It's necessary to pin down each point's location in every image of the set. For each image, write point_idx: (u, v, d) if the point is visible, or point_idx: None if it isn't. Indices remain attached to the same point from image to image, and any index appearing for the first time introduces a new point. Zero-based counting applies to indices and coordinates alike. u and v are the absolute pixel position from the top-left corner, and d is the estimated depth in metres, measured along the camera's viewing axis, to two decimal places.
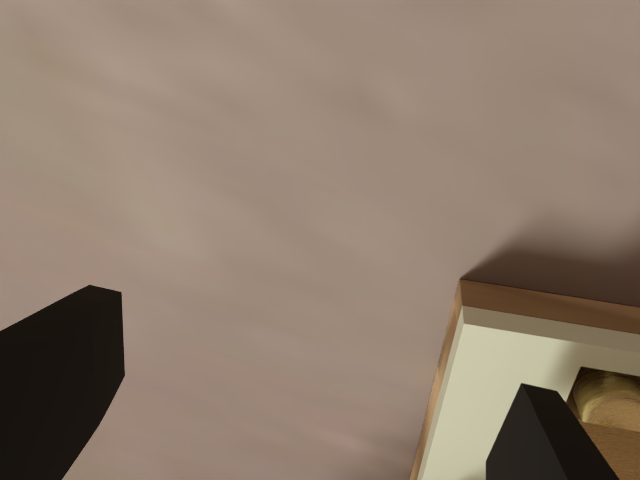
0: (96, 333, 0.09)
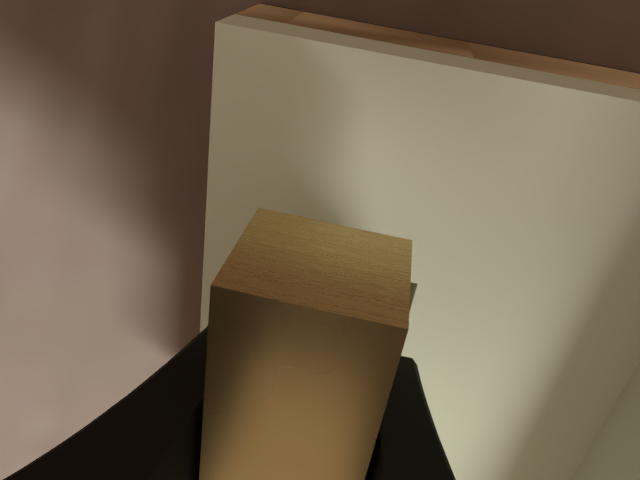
0: None
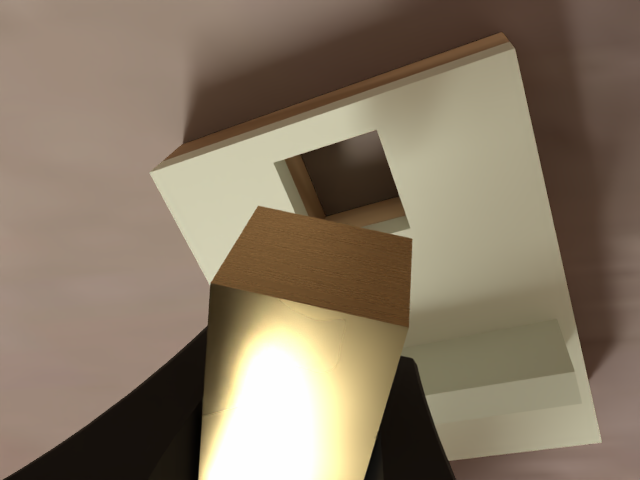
0: None
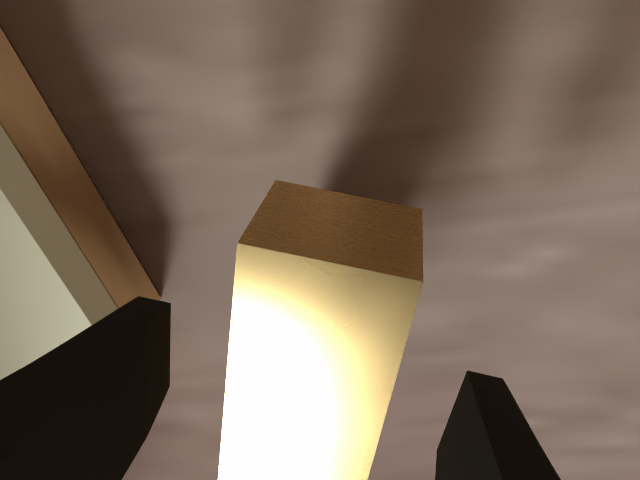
0: (148, 345, 0.09)
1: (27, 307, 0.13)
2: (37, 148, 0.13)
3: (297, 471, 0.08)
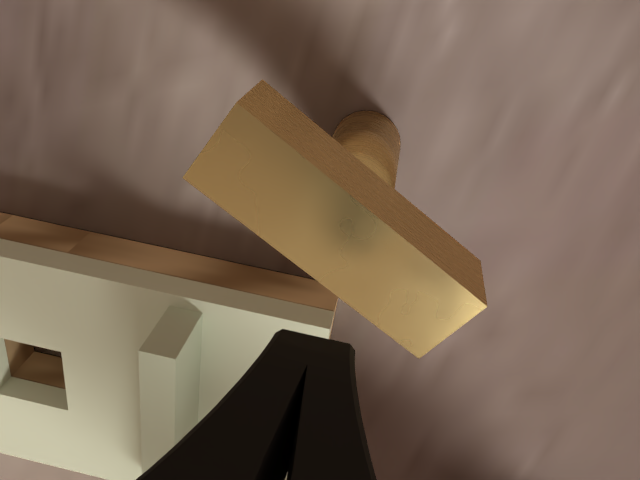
0: (304, 381, 0.09)
1: None
2: (201, 272, 0.20)
3: (344, 244, 0.12)
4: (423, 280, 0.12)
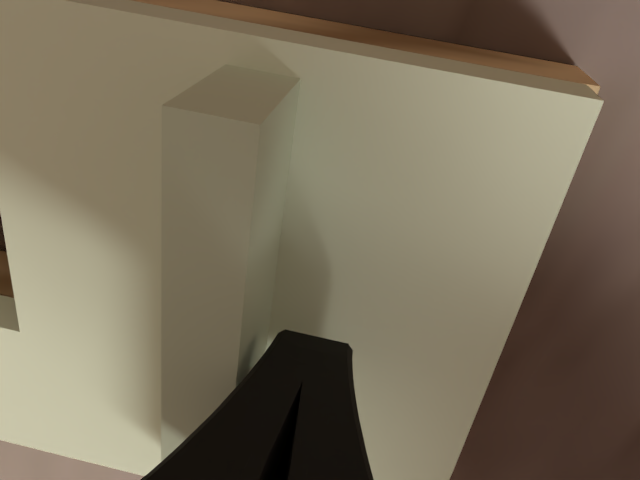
0: None
1: (444, 160, 0.09)
2: (299, 25, 0.10)
3: None
4: None
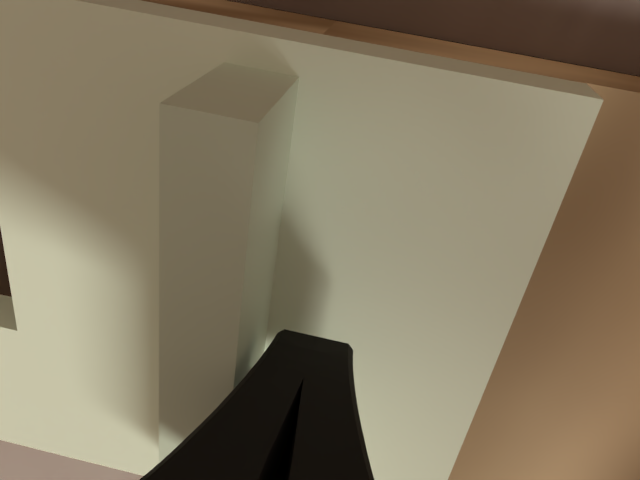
0: None
1: (443, 159, 0.09)
2: (611, 82, 0.09)
3: None
4: None
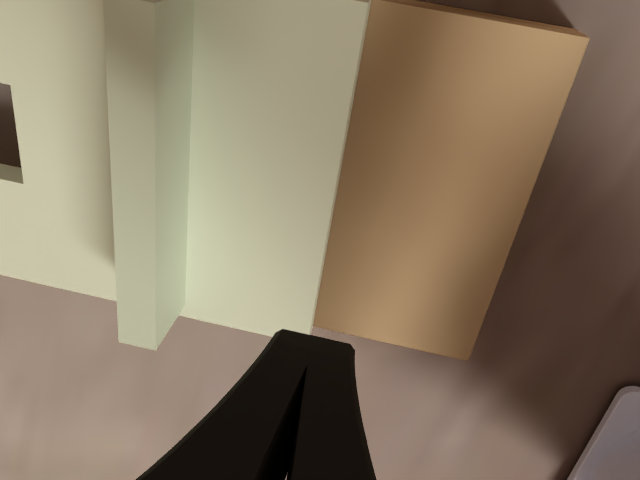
0: (304, 381, 0.09)
1: (284, 44, 0.14)
2: (394, 0, 0.15)
3: None
4: None
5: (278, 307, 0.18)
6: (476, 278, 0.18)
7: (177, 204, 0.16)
